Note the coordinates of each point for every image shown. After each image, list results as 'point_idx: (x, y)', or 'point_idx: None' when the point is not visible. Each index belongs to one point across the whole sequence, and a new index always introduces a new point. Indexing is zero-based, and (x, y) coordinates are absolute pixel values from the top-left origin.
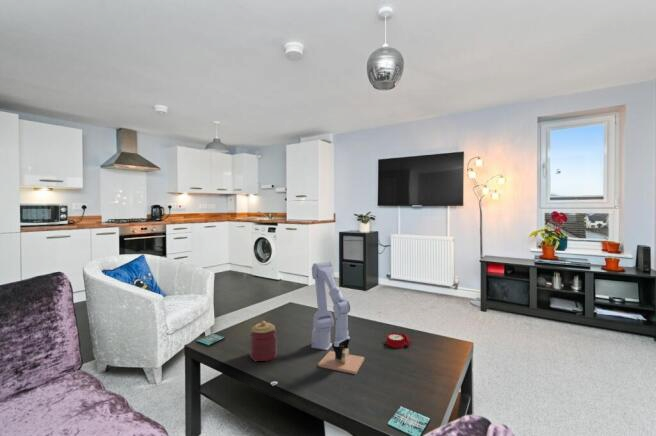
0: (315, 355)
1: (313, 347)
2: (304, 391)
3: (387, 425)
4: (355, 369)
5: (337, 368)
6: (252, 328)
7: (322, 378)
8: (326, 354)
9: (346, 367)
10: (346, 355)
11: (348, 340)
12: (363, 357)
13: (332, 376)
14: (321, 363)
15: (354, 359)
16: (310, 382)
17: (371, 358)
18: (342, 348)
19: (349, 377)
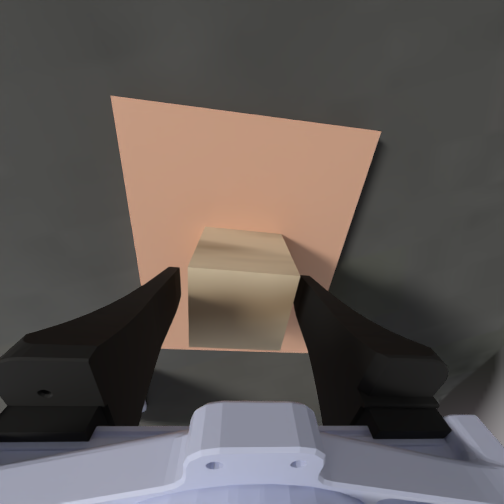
0: (208, 375)
1: (145, 402)
2: (500, 328)
3: None
4: (348, 140)
5: (334, 263)
6: None
7: (409, 299)
8: (200, 349)
9: (326, 214)
10: (258, 253)
11: (120, 340)
12: (120, 105)
13: (392, 264)
14: (301, 343)
15: (193, 183)
16: (437, 329)
17: (56, 20)
18: (429, 348)
19: (408, 168)
